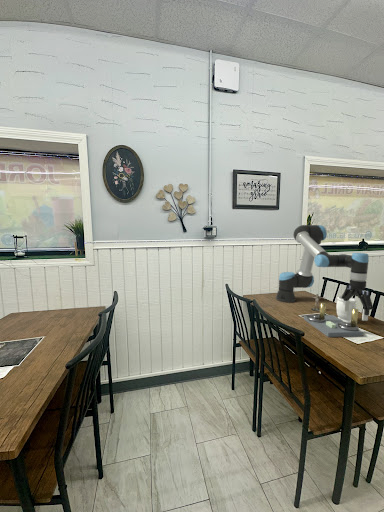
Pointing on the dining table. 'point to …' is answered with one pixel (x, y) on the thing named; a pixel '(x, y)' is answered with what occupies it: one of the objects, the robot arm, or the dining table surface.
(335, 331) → the plate
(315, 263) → the robot arm
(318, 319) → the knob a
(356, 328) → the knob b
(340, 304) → the jar
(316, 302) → the figurine
